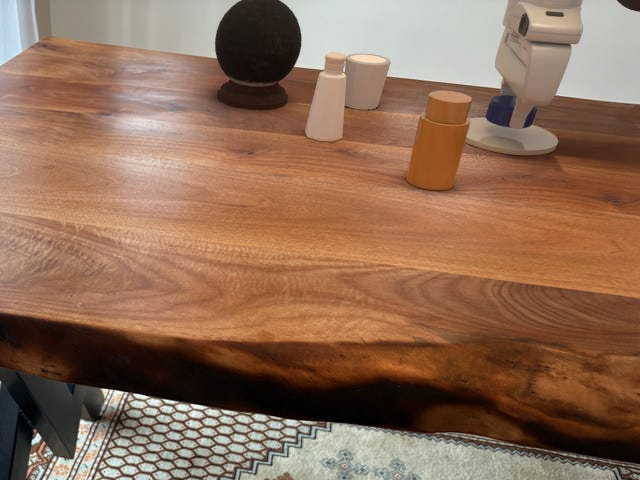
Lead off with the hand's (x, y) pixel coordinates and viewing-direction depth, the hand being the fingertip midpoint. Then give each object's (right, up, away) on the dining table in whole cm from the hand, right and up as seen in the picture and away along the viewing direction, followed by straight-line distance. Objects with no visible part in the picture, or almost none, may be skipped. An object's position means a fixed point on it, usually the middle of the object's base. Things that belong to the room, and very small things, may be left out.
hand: (509, 119), depth 109 cm
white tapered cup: (-18, +6, +13) cm, 23 cm away
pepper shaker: (-27, -3, 0) cm, 27 cm away
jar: (-16, -12, -13) cm, 24 cm away
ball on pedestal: (-35, +7, +13) cm, 38 cm away
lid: (0, +2, -1) cm, 2 cm away
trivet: (0, -2, +1) cm, 3 cm away
